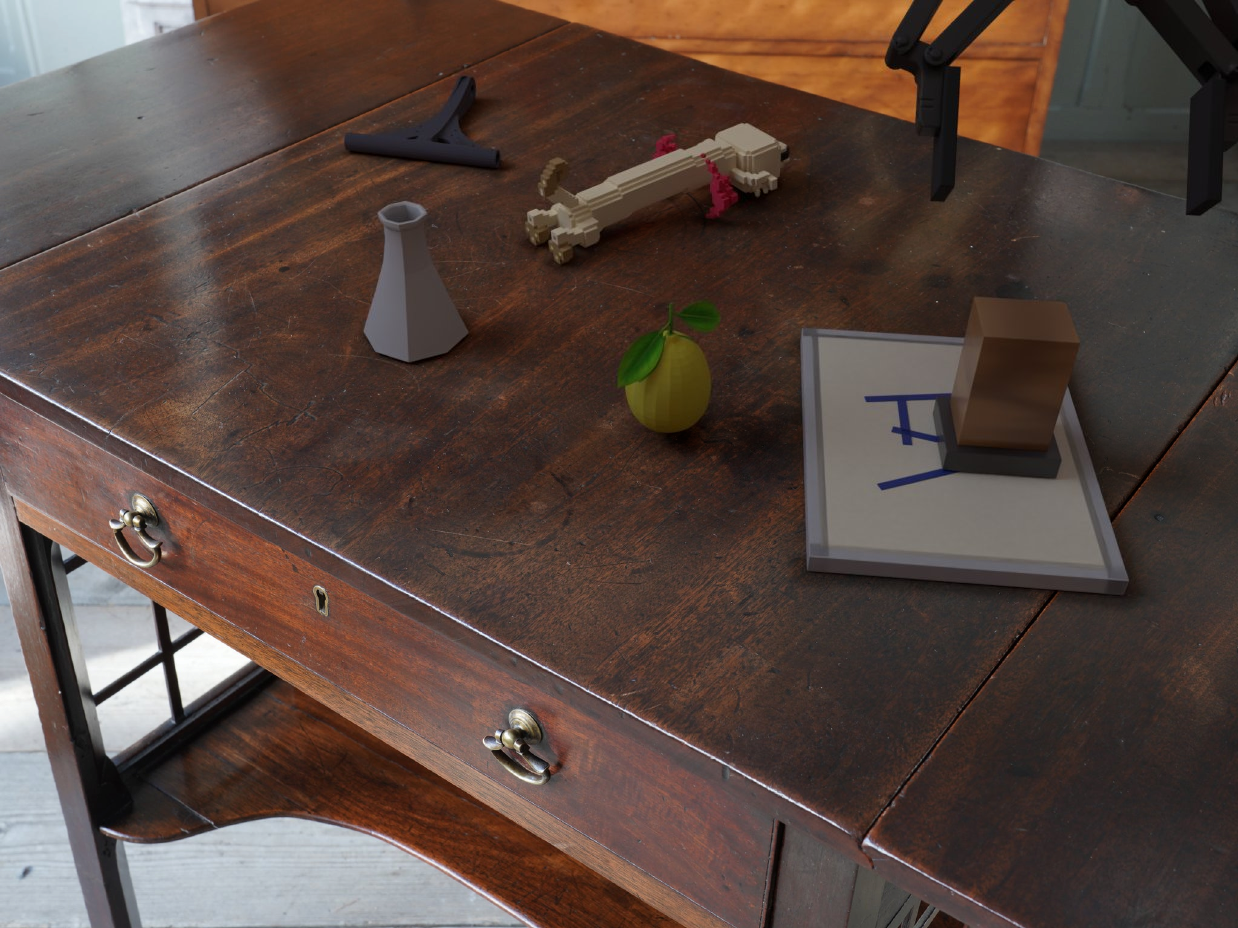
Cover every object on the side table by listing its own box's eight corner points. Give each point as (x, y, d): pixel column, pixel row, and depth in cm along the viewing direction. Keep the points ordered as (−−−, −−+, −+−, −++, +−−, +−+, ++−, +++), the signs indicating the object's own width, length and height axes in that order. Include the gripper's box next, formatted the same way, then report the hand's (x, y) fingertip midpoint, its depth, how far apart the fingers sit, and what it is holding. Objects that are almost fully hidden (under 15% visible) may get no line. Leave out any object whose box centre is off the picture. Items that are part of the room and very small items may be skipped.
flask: (346, 334, 89) (327, 211, 83) (425, 297, 93) (412, 177, 87) (406, 376, 85) (390, 250, 79) (486, 336, 89) (477, 213, 83)
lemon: (714, 402, 83) (724, 275, 77) (720, 457, 79) (730, 327, 72) (616, 401, 83) (618, 274, 77) (616, 456, 79) (618, 326, 72)
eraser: (1040, 421, 80) (1076, 296, 74) (1056, 479, 76) (1096, 350, 70) (932, 413, 81) (959, 288, 75) (942, 470, 76) (972, 342, 70)
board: (1050, 357, 88) (1054, 342, 87) (1123, 595, 70) (1129, 579, 69) (800, 341, 89) (802, 326, 88) (806, 571, 71) (809, 555, 70)
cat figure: (580, 292, 96) (818, 187, 106) (571, 194, 90) (824, 93, 100) (515, 240, 103) (745, 145, 112) (502, 145, 97) (747, 54, 106)
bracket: (540, 105, 121) (539, 78, 119) (495, 171, 110) (493, 142, 108) (402, 92, 123) (399, 65, 121) (345, 154, 112) (341, 126, 110)
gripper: (1291, -132, 69) (1280, 233, 68) (850, -147, 71) (827, 208, 69) (1364, -216, 62) (1353, 192, 60) (868, -231, 64) (843, 165, 62)
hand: (1071, 202), depth 65 cm, fingers open, 13 cm apart
